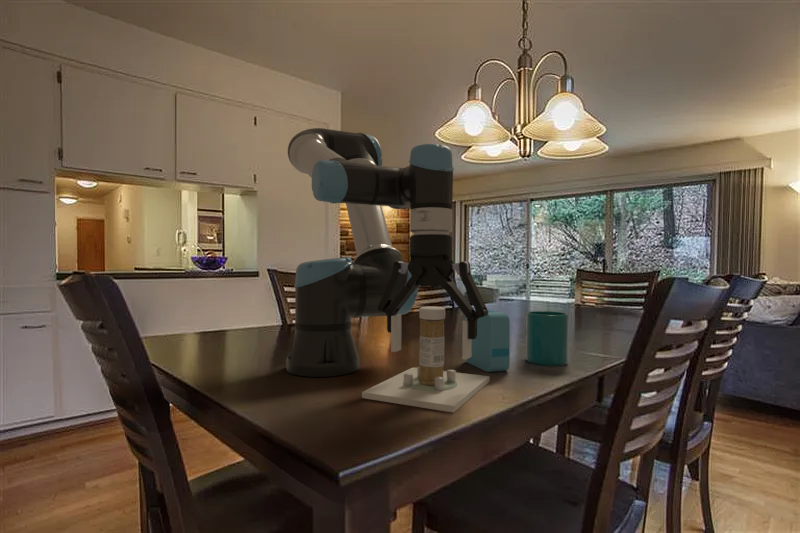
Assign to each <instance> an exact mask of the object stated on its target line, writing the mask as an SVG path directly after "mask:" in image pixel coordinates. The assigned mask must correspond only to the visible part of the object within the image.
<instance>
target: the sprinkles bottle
mask: <svg viewBox="0 0 800 533" xmlns="http://www.w3.org/2000/svg"><path fill="white" fill-rule="evenodd" d="M418 313H419V321H420V322H419V324H420V325H419V343H418V344H419V347H418V350H419V351H418V352H419V353H418V354H419V355H418V357H419V358H418V360H419V362H418V365H419V366H418V367H419V382H420V383H421V384H424V385H429V386H435V377H443V371H444V365H445V319H446V308H445V307H444V306H443V307H442V306H421V307H420V308H419V312H418Z"/></svg>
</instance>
